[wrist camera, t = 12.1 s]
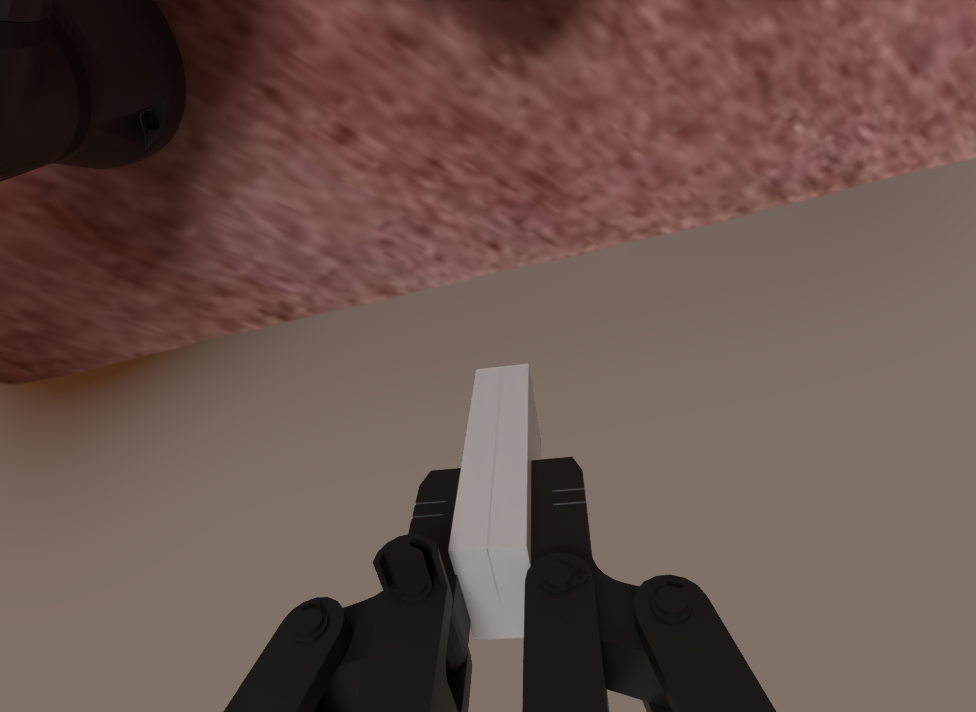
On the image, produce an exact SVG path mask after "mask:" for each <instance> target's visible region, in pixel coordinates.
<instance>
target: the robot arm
mask: <svg viewBox="0 0 976 712" xmlns="http://www.w3.org/2000/svg"><path fill="white" fill-rule="evenodd" d="M184 103H185V76H184V70H183V65H182V60H181V57H180V53H179V50H178V47H177V44H176V42H175V39H174V37H173V34H172V32H171V30H170V28H169V26H168V24H167V23H166V21H165V19H164V17H163V16H162V14H161V13H160V11H159V9H158V8H157V7H156V5H155V4H154V2H153V1H152V0H0V181H3V180H6V179H9V178H12V177H14V176H17V175H20V174H23V173H26V172H29V171H32V170H34V169H37V168H40V167H43V166H45V165H48V164H52V163H54V164H63V165H71V166H79V167H87V168H96V169H107V168H116V167H122V166H126V165H129V164H132V163H135V162H137V161H140V160H142V159H145V158H147V157H149V156H151V155H153V154H155V153H156V152H158V151H159V150H160V149H161V148H163V147H164V146H165V145H166V144H167V143H168V142H169V140H170V139H171V138H172V136H173V135H174V133H175V131H176V129H177V127H178V125H179V123H180V120H181V117H182V114H183V109H184ZM373 564H374V567H375V569H376V572H377V574H378V577H379V580H380V582H381V585H382V587H383V591H382V592H380V593H379V594H378V595H376V596H374V597H371V598H369V599H367V600H364V601H361V602H359V603H356V604H353V605H350V606H347V607H344V608H342V606H341V605H340V604H339V603H338V601H336V600H333V599H331V598H329V597H321V598H314V599H311V600H309V601H306V602H303V603H302V604H300V605H299V606H297V607H296V608H294V609H293V610H292V611H291V612H290V613H289V614H288V615H287V617H286V618H285V619H284V620H283V621H282V623H281V624H280V626H279V627H278V629H277V630H276V632H275V634H274V635H273V637H272V638H271V640H270V641H269V643H268V644H267V646H266V647H265V649H264V650H263V652H262V654H261V655H260V657H259V658H258V660H257V661H256V663H255V664H254V666H253V667H252V669H251V670H250V672H249V673H248V675H247V677H246V678H245V680H244V681H243V683H242V684H241V686H240V687H239V689H238V690H237V692H236V694H235V695H234V696H233V698H232V700H231V701H230V703H229V704H228V706H227V707H226V709H225V710H224V712H468V707H469V696H470V684H471V673H472V661H471V655H470V651H469V648H468V641H469V632H470V628H471V631H472V634H473V638H474V640H485V639H507V638H524V657H523V712H609V706H608V697H607V689H608V690H611V691H615V692H618V693H621V694H624V695H627V696H631V697H634V698H637V699H640V700H642V701H643V703H644V706H645V708H646V711H647V712H776V710H775V709H774V707H773V705H772V704H771V702H770V701H769V699H768V697H767V695H766V694H765V692H764V691H763V689H762V687H761V685H760V684H759V682H758V680H757V679H756V677H755V675H754V674H753V672H752V670H751V669H750V667H749V666H748V664H747V662H746V660H745V659H744V657H743V655H742V654H741V652H740V650H739V649H738V647H737V645H736V644H735V642H734V640H733V639H732V637H731V635H730V634H729V632H728V630H727V629H726V627H725V625H724V624H723V622H722V620H721V619H720V617H719V615H718V614H717V612H716V610H715V609H714V607H713V605H712V604H711V602H710V600H709V599H708V597H707V596H706V594H705V593H704V592H703V591H702V590H701V589H700V587H698V585H696V584H695V583H693V582H691V581H689V580H688V579H686V578H683V577H678V576H674V575H662V576H655V577H653V578H651V579H649V580H647V581H645V582H643V584H642V585H641V586H640V587H639V586H635V585H631V584H627V583H623V582H620V581H616V580H614V579H612V578H610V577H609V576H607V575H605V574H604V573H603V572H602V571H601V570H600V569H599V568H598V567H597V565H596V564H595V562H594V560H593V557H592V551H591V541H590V532H589V522H588V513H587V505H586V497H585V488H584V480H583V472H582V469H581V468H580V467H579V465H578V464H577V463H576V461H575V460H574V459H573V457H565V458H554V459H543V460H541V438H540V433H539V426H538V420H537V413H536V407H535V401H534V395H533V389H532V382H531V376H530V370H529V364H520V365H512V366H502V367H494V368H485V369H477V370H476V375H475V382H474V388H473V394H472V401H471V407H470V414H469V420H468V426H467V433H466V440H465V446H464V452H463V459H462V466H461V468H457V469H446V470H434V471H431V472H430V473H429V474H428V475H427V477H426V478H425V479H424V481H423V482H422V483H421V485H420V486H419V491H418V495H417V499H416V505H415V507H414V512H413V519H412V520H411V524H410V529H409V533H408V535H404V536H399V537H397V538H395V539H394V540H392V541H390V542H388V543H387V544H386V545H385V546H383V548H382V549H381V550H379V551H378V553H377V555H376V557H375V559H374V561H373Z"/></svg>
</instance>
